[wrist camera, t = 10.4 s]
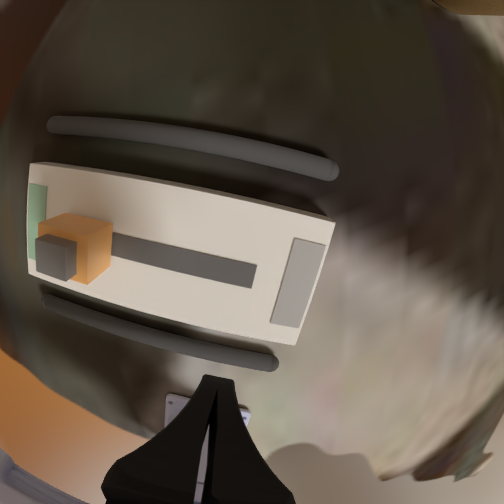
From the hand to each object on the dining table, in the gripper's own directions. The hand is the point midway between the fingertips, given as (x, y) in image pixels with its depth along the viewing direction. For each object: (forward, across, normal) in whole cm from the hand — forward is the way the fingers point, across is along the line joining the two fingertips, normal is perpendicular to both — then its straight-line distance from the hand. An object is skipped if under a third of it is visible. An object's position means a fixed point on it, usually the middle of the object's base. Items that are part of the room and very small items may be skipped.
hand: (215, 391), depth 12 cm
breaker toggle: (+7, +10, -3) cm, 13 cm away
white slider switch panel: (+9, +6, -3) cm, 12 cm away
